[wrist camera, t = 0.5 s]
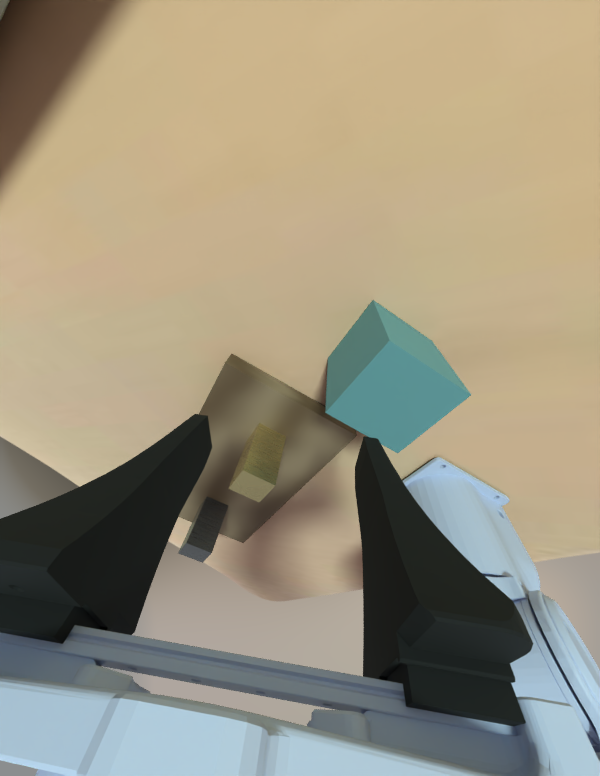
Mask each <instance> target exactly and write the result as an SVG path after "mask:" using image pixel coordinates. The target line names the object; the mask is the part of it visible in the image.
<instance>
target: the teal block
mask: <svg viewBox="0 0 600 776" xmlns="http://www.w3.org/2000/svg"><path fill="white" fill-rule="evenodd" d="M469 396H471V394H470V392H469V391H468V390H467V388H466V387H465V386H464V384H463V383H462V382H461V380H460V379H459V377H458V376H457V375H456V373H455V372H454V371H453V369H452V368H451V366H450V365H449V364H448V362H447V361H446V360H445V358H444V357H443V355H442V354H441V353H440V351H439V350H438V349H437V347H436V346H435V344H434V343H433V342H432V341H431V340H430V339H428V338H427V337H425V336H424V335H423V334H421V333H420V332H418V331H417V330H415V329H414V328H413V327H411V326H410V325H408V324H407V323H405V322H404V321H402V320H401V319H400V318H398V317H397V316H395V315H394V314H392V313H391V312H390V311H388V310H387V309H385V308H384V307H382V306H381V305H379V304H378V303H377V302H375V301H374V300H373V301H372V302H371V303H370V305H369V306H368V307H367V308H366V310H365V311H364V312H363V314H362V315H361V316H360V317H359V319H358V320H357V321H356V323H355V324H354V325H353V327H352V328H351V329H350V330H349V332H348V333H347V334H346V336H345V337H344V338H343V340H342V341H341V342H340V343H339V345H338V346H337V347H336V349H335V350H334V351H333V352H332V354H331V355H330V356H329V358H328V368H327V389H326V410H325V413H327V414H329V415H330V416H332V417H334V418H336V419H338V420H339V421H341V422H343V423H345V424H346V425H348V426H350V427H352V428H354V429H355V430H357V431H359V432H361V433H363V434H364V435H366V436H368V437H371V438H377V439H378V440H379V441H380V443H381V444H382V445H384V446H386V447H387V448H389V449H391V450H393V451H395V452H396V453H399V452H400V451H401V450H402V449H404V448H405V447H406V446H408V445H409V444H410V443H411V442H413V441H414V440H415V439H416V438H418V437H419V436H420V435H421V434H423V433H424V432H425V431H426V430H428V429H429V428H430V427H431V426H433V425H434V424H435V423H437V422H438V421H439V420H440V419H442V418H443V417H444V416H445V415H447V414H448V413H449V412H450V411H452V410H453V409H454V408H455V407H457V406H458V405H459V404H460V403H462V402H463V401H464V400H466V399H467V398H468V397H469Z"/></svg>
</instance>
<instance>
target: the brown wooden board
mask: <svg viewBox="0 0 600 776" xmlns="http://www.w3.org/2000/svg"><path fill="white" fill-rule="evenodd" d="M325 410H326V407H325V406H323V405H322V404H320V403H318V402H316V401H314V400H313V399H311V398H309V397H307V396H306V395H304V394H302V393H300V392H299V391H297V390H295V389H293V388H292V387H290V386H288V385H286V384H284V383H283V382H281V381H279V380H277V379H276V378H274V377H272V376H270V375H269V374H267V373H265V372H263V371H261V370H260V369H258V368H256V367H254V366H253V365H251V364H249V363H247V362H246V361H244V360H242V359H240V358H239V357H237V356H235V355H233V354H231V355H230V357H229V358H228V360H227V361H226V362H225V364H224V366H223V368H222V370H221V372H220V374H219V376H218V378H217V380H216V382H215V384H214V386H213V388H212V390H211V392H210V394H209V395H208V397H207V399H206V401H205V403H204V405H203V407H202V409H201V411H200V413H199V415H206V416H208V421H209V428H210V434H211V441H212V450H211V452H210V455H209V458H208V460H207V463H206V465H205V468H204V469H203V471H202V473H201V475H200V477H199V479H198V481H197V483H196V485H195V486H194V488H193V490H192V492H191V494H190V496H189V497H188V499H187V501H186V503H185V505H184V507H183V508H182V510H181V512H180V514H179V516H178V517H181V518H183V519H186V520H188V521H190V522H193V520H194V518H195V515H196V513H197V511H198V509H199V507H200V505H201V504H202V503H203V501H204V500H205V498H206V497H207V496H208V497H210V498H212V499H214V500H217V501H219V502H221V503H224V504H226V505H228V509H227V511H226V514H225V517H224V520H223V523H222V525H221V528H220V531H219V533H220V534H222V535H225V536H227V537H230V538H232V539H235V540H237V541H240V542H242V543H244V542H245V541H246V540H247V539H248V538H249V537H250V536H251V535H252V534H253V533H254V532H255V531H256V530H257V529H259V528H260V527H261V526H262V525H263V524H264V523H265V522H266V521H267V520H268V519H269V518H270V517H271V516H272V515H273V514H274V513H275V512H276V511H278V510H279V509H280V508H281V507H282V506H283V505H284V504H285V503H286V502H287V501H288V500H289V499H290V498H291V497H292V496H293V495H294V494H296V493H297V492H298V491H299V490H300V489H301V488H302V487H303V486H304V485H305V484H306V483H307V482H308V481H309V480H310V479H311V478H312V477H313V476H315V475H316V474H317V473H318V472H319V471H320V470H321V469H322V468H323V467H324V466H325V465H326V464H327V463H328V462H329V461H330V460H331V459H333V458H334V457H335V456H336V455H337V454H338V453H339V452H340V451H341V450H342V449H343V448H344V447H345V446H346V445H347V444H348V443H349V442H350V441H352V440H353V439H354V438H355V437H356V436H357V434H356V430H355V429H354V428H352V427H350V426H348V425H346V424H345V423H343V422H341V421H339V420H338V419H336V418H334V417H332V416H330V415H329V414H327V413H325ZM259 423H261V424H263V425H265V426H266V427H268V428H270V429H272V430H274V431H276V432H278V433H280V434H282V435H284V436H286V439H285V444H284V448H283V453H282V458H281V462H280V467H279V471H278V476H277V481H276V485H275V487H274V488H273V489H272V490H271V491H270V492H269V493H268V494H267V495H266V496H265V497H264V498H263V499H262V500H261V501H260V502H257V501H255V500H252V499H250V498H248V497H246V496H243V495H241V494H239V493H237V492H235V491H232V490H230V489H228V488H229V486H230V483H231V481H232V478H233V475H234V473H235V470H236V467H237V465H238V462H239V460H240V457H241V454H242V452H243V449H244V446H245V444H246V441H247V440H248V438H249V437H250V435H251V434H252V433H253V431H254V430H255V428H256V427H257V426H258V424H259Z"/></svg>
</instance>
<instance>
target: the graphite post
mask: <svg viewBox="0 0 600 776" xmlns="http://www.w3.org/2000/svg"><path fill="white" fill-rule="evenodd" d="M227 509H228V505H226V504H224V503H221V502H219V501H217V500H214V499H212V498H210V497H208V496H207V497H206V498H205V500H204V501H203V503H202V504H201V505H200V507H199V509H198V511H197V513H196V515H195V518H194V520H193V522H192V524H191V526H190V529H189V531H188V533H187V535H186V537H185V540H184V542H183V544H182V546H181V548H180V551H179V554H181V555H184V556H187V557H189V558H192V559H195V560H197V561H200V562H204V560H205V559H206V558H207V557H208V556H209V555H210V554H211V553H212V551H213V548H214V545H215V542H216V539H217V537H218V534H219V531H220V528H221V525H222V523H223V520H224V517H225V514H226V511H227Z"/></svg>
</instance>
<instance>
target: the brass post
mask: <svg viewBox="0 0 600 776" xmlns="http://www.w3.org/2000/svg"><path fill="white" fill-rule="evenodd" d="M285 439H286V436H284V435H282V434H280V433H278V432H276V431H274V430H272V429H270V428H268V427H266V426H265V425H263V424H261V423H259V424H258V426H257V427H256V428H255V430H254V431H253V433H252V434H251V435H250V437H249V438H248V440H247V441H246V444H245V446H244V449H243V452H242V454H241V457H240V460H239V462H238V465H237V467H236V470H235V473H234V475H233V478H232V481H231V483H230V486H229V488H228V489H230V490H232V491H235V492H237V493H239V494H241V495H243V496H246V497H248V498H250V499H252V500H255V501H257V502H260V501H261V500H262V499H263V498H264V497H265V496H266V495H267V494H268V493H269V492H270V491H271V490H272V489H273V488H274V487H275V485H276V481H277V476H278V471H279V467H280V462H281V458H282V453H283V448H284V444H285Z"/></svg>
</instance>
